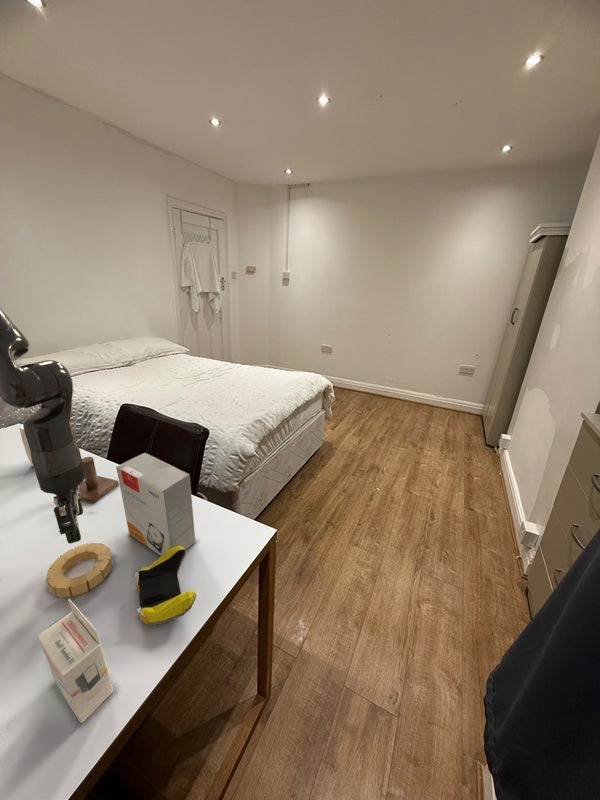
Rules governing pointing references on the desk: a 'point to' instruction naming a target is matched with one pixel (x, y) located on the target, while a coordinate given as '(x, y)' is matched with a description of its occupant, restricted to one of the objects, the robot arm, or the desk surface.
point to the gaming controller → (163, 589)
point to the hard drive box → (157, 503)
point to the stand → (94, 483)
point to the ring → (83, 582)
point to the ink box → (77, 662)
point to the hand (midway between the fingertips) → (76, 527)
